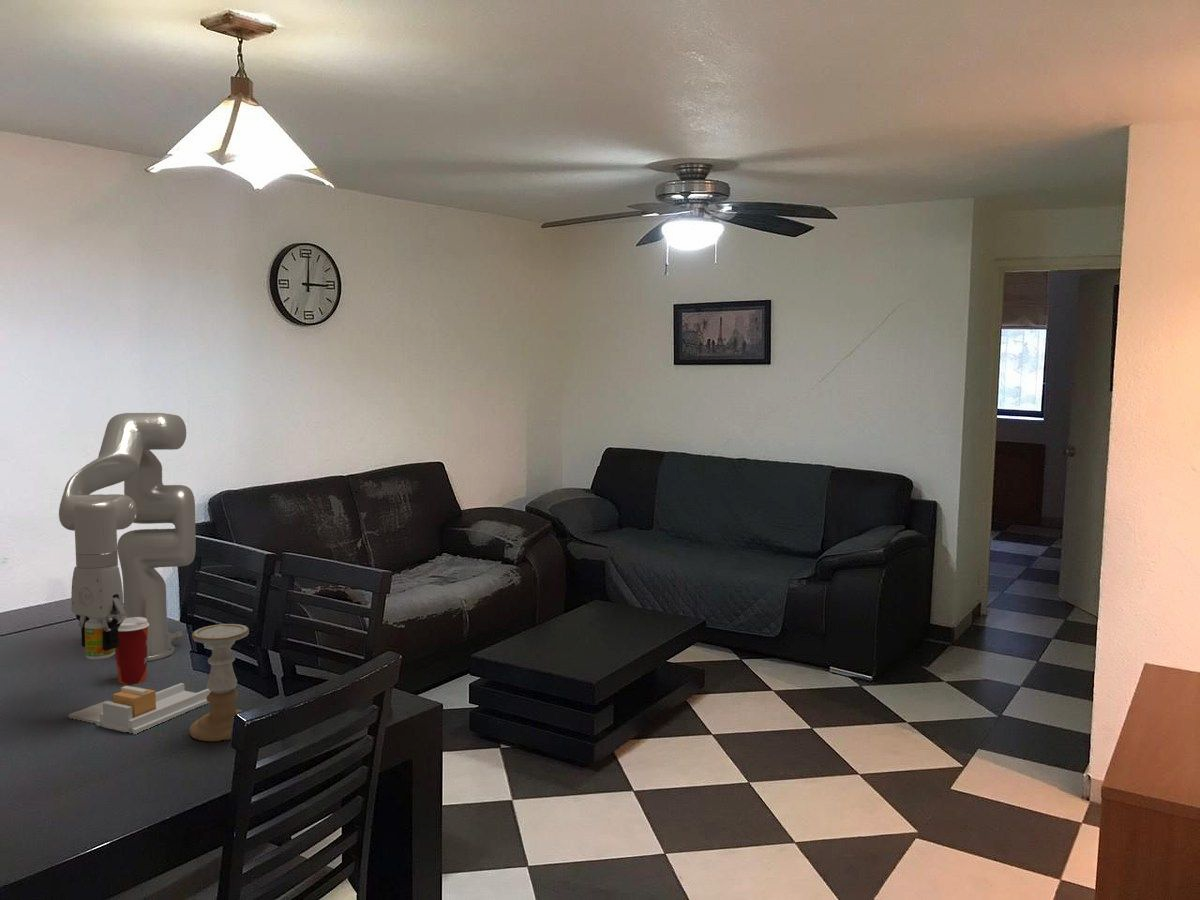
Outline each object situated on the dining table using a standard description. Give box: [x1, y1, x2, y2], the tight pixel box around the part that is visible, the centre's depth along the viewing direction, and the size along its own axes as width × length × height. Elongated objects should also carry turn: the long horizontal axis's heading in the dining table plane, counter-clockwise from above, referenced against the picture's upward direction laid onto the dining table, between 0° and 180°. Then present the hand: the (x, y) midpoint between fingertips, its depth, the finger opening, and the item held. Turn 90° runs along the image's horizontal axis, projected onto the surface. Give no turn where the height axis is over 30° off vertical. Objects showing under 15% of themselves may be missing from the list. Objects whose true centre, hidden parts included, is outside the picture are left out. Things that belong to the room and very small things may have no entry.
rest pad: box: [67, 700, 112, 725], centre depth 190 cm, size 9×9×1 cm
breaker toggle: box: [112, 685, 157, 718], centre depth 185 cm, size 5×6×6 cm
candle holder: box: [188, 623, 250, 742], centre depth 181 cm, size 12×12×20 cm
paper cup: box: [115, 617, 149, 686], centre depth 210 cm, size 8×8×14 cm
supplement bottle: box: [84, 614, 116, 660], centre depth 189 cm, size 5×5×10 cm
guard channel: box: [95, 682, 211, 735], centre depth 191 cm, size 20×11×5 cm, turn 157°
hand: (100, 646), depth 189 cm, fingers closed on supplement bottle, 5 cm apart
